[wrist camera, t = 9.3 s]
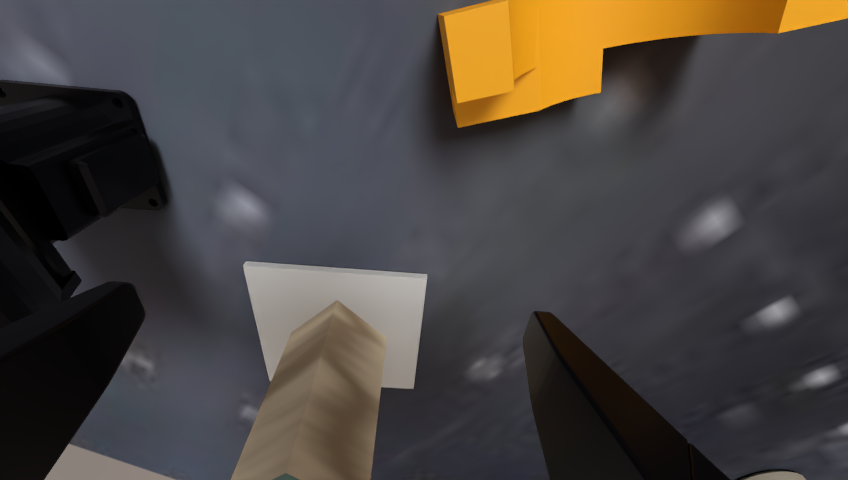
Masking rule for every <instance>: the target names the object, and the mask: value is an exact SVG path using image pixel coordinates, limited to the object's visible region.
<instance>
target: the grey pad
mask: <svg viewBox="0 0 848 480" xmlns="http://www.w3.org/2000/svg"><path fill="white" fill-rule="evenodd" d="M243 268H244V273H245V277H246V281H247V286H248V290H249V294H250V299H251V303H252V307H253V312H254V316H255V320H256V325H257V329H258V333H259V338H260V342H261V346H262V351H263V355H264V359H265V364H266V368H267V372H268V377H269V381H271V380H272V378H273V376H274V373H275V371H276V368H277V366H278V363H279V361H280V359H281V356H282V354H283V351H284V349H285V346H286V344H287V342H288V339H289V337H290V334H291V332H292V331H294V330H295V329H297V328H298V327H300V326H301V325H302V324H304V323H305V322H307V321H308V320H310V319H311V318H312V317H314V316H315V315H317V314H318V313H320V312H321V311H322V310H324V309H325V308H327V307H328V306H330V305H331V304H332V303H334V302H335V301H337V300H338V301H339V302H341V303H342V304H343V305H344V306H346V307H347V308H348V309H350V310H351V311H352V312H354V313H355V314H356V315H357V316H359V317H360V318H361V319H363V320H364V321H365V322H366V323H368V324H369V325H370V326H372V327H373V328H374V329H375V330H377V331H378V332H379V333H381V334H382V335H383V336H384V337H386V338H387V340H386V348H385V357H384V366H383V375H382V384H381V387H387V388H405V389H414V381H415V373H416V365H417V357H418V349H419V340H420V332H421V324H422V316H423V308H424V299H425V291H426V283H427V274H418V273H404V272H390V271H376V270H362V269H348V268H334V267H320V266H306V265H292V264H278V263H264V262H251V261H246V262H245V263H244V265H243Z"/></svg>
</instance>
